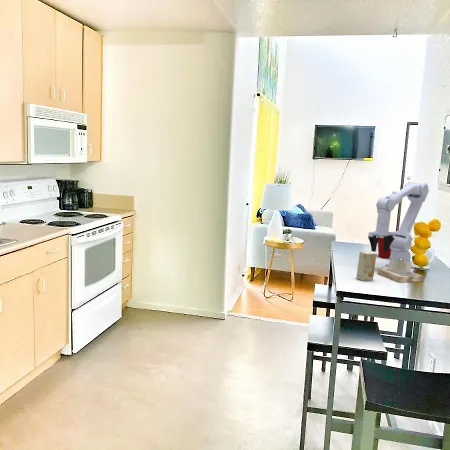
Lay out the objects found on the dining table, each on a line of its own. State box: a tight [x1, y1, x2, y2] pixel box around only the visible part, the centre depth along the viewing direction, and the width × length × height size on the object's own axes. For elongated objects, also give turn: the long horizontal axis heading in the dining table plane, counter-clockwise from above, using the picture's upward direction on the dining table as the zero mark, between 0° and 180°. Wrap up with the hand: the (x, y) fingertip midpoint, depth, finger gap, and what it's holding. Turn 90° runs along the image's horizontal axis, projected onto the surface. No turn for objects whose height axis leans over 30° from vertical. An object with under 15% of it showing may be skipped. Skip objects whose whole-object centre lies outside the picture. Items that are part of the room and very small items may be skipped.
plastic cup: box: [377, 236, 391, 260], centre depth 248 cm, size 11×11×12 cm
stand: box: [376, 268, 425, 284], centre depth 206 cm, size 14×14×3 cm
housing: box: [388, 258, 412, 274], centre depth 206 cm, size 4×8×6 cm, turn 43°
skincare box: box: [355, 251, 377, 282], centre depth 197 cm, size 6×4×12 cm
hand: (379, 251), depth 216 cm, fingers open, 7 cm apart
